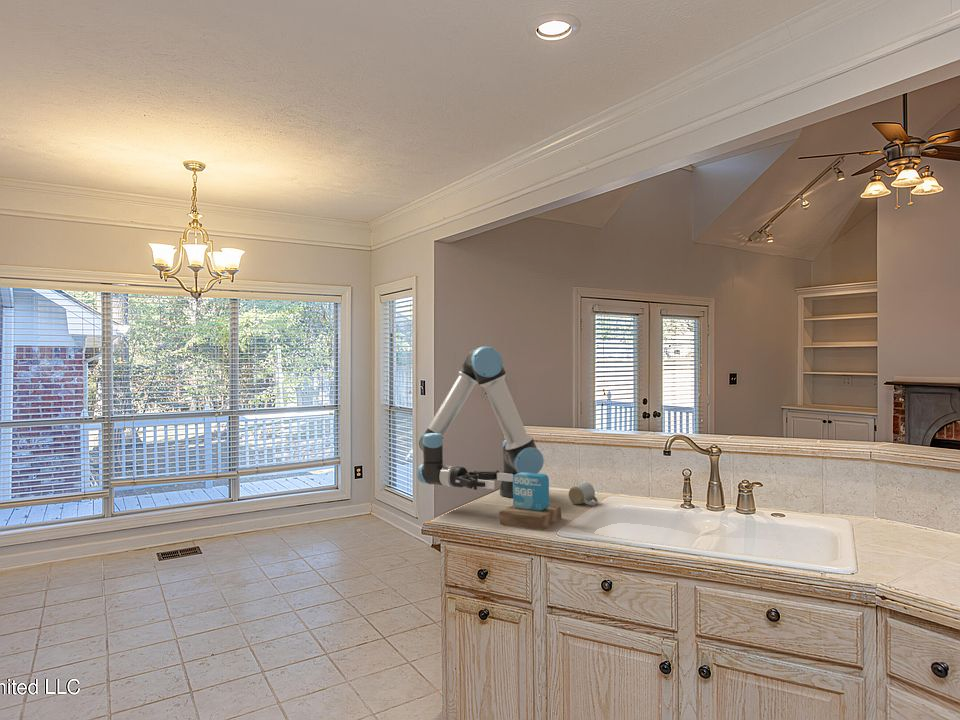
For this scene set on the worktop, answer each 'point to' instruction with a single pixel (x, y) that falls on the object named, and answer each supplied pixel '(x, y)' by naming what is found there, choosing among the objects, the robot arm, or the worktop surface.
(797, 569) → the worktop surface
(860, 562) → the worktop surface
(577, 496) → the ceramic mug
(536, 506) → the data package
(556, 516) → the walnut block
